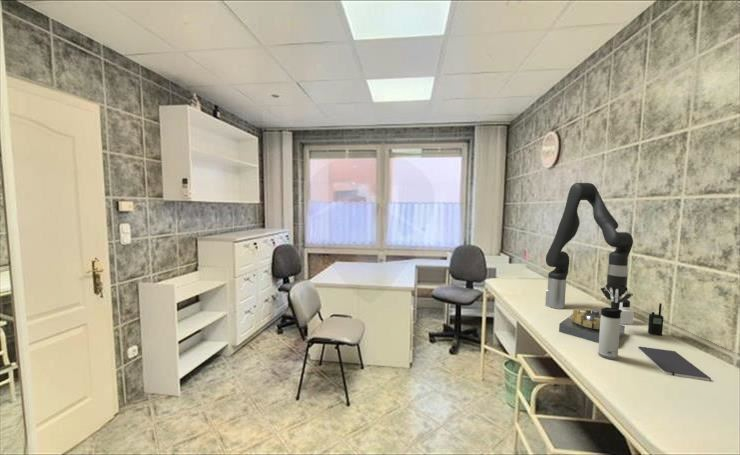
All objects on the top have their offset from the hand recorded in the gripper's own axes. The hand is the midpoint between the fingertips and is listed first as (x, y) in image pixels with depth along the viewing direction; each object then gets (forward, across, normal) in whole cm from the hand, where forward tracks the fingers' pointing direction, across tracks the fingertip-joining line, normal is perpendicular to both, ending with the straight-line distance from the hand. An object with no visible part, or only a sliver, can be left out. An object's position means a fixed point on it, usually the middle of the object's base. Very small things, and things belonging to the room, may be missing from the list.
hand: (615, 309), depth 148 cm
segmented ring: (+6, -5, -8) cm, 11 cm away
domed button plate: (+11, -4, -11) cm, 16 cm away
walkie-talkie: (+11, +10, +15) cm, 21 cm away
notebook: (+12, +26, -13) cm, 32 cm away
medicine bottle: (+11, -6, +18) cm, 22 cm away
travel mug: (+11, +13, -30) cm, 34 cm away
